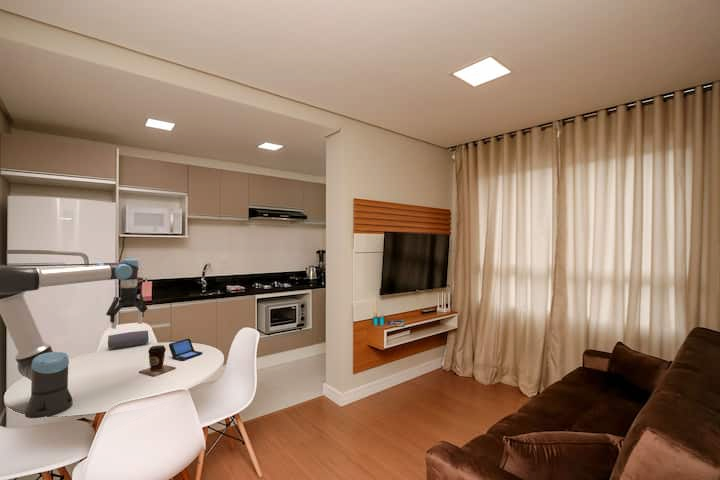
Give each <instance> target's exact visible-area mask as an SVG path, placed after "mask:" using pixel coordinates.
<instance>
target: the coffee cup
mask: <svg viewBox="0 0 720 480" xmlns="http://www.w3.org/2000/svg"><path fill="white" fill-rule="evenodd" d="M166 348H167V347H165V345H163V344H162V345H153V346H150V347H149V349H148V351H147V352H148V362H149V368H150V367H151V368H150V371H160V370H162V369H163V365H164V362H165V355H166V354H165V353H166Z"/></svg>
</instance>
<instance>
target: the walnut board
mask: <svg viewBox="0 0 720 480" xmlns="http://www.w3.org/2000/svg"><path fill="white" fill-rule="evenodd" d="M150 368H151V366H149V367H148V368H145V369H142V370H139V371H138V374H142V375H146V376H150V377H154V378H155V377H157V376H160V375H163V374H165V373H168V372H171V371H173V370H176V369H177V368H176V366H172V365H167V364H163V369H162V370H160V371H150Z"/></svg>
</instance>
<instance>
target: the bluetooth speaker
mask: <svg viewBox="0 0 720 480" xmlns="http://www.w3.org/2000/svg"><path fill="white" fill-rule="evenodd" d="M107 337H108V338H107V347H108V349H115V348H117V349H118V348H119V349H126V348H127V349H128V348H133V347H137V346H138V345H142V344H146V343H149V337H150V336H149V330H140V331H139V330H137V331H128V332H123V333H116V334H111V335H108V336H107Z"/></svg>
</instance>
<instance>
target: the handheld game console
mask: <svg viewBox="0 0 720 480" xmlns="http://www.w3.org/2000/svg"><path fill="white" fill-rule="evenodd" d="M168 347H169V351H170V353H171V356H172V360H176V361H181V362H183V361H184V362H185V361H186V360H190V359H192V358H195V356H196V357H199V356H201V354H202V355H203V352H202V351H198V350H195V349H194V346H193V343H192V341H191V339H190V338H186V339H182V340H179V341H175V342H171V343H169V344H168Z"/></svg>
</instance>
